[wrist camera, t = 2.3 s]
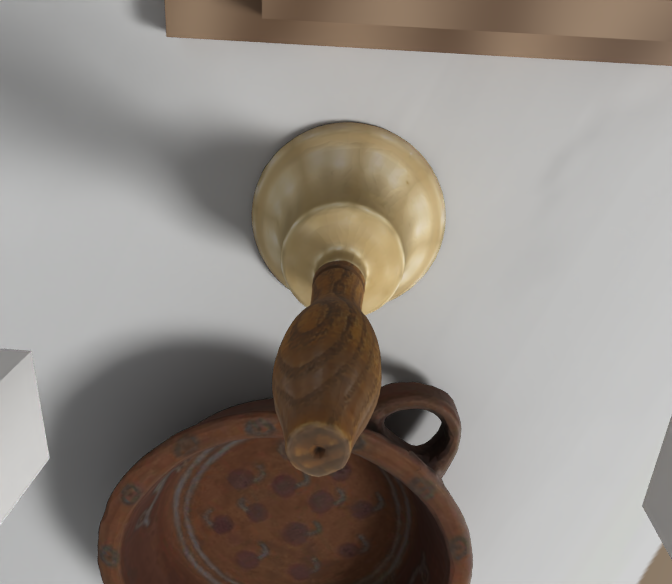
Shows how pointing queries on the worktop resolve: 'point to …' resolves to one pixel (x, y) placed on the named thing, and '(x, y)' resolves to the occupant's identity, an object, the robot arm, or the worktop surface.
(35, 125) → the worktop surface
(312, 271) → the hand bell
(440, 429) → the dish
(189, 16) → the walnut stand
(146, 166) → the worktop surface
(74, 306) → the worktop surface
